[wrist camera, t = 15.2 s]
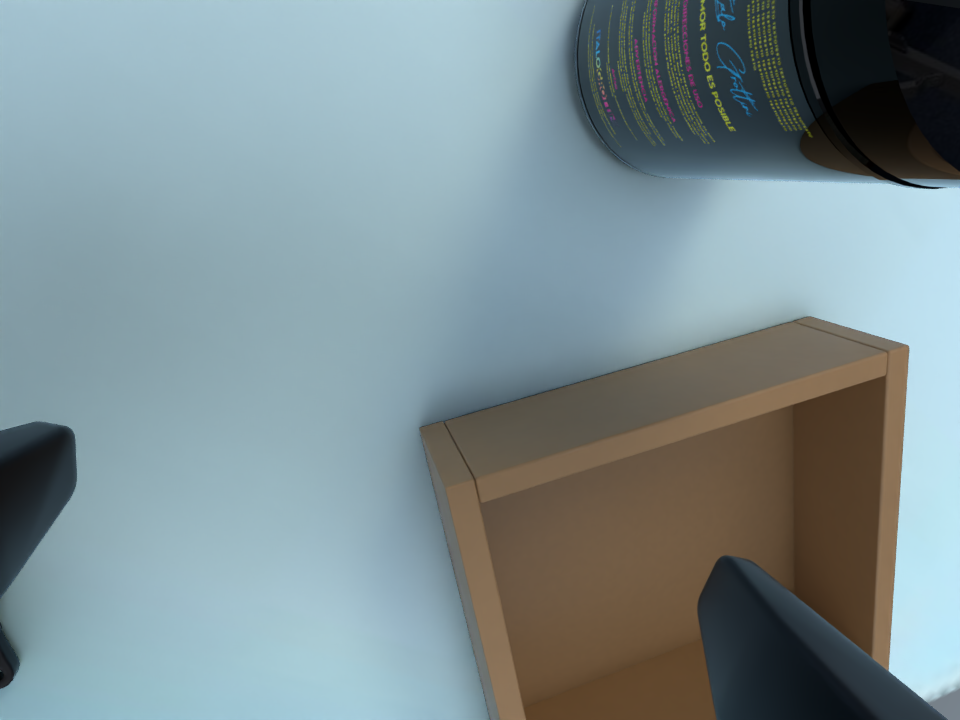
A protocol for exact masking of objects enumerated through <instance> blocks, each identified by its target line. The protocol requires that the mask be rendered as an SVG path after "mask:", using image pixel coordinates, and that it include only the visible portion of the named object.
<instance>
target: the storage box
mask: <svg viewBox="0 0 960 720" xmlns="http://www.w3.org/2000/svg"><path fill="white" fill-rule="evenodd" d="M908 359H909V346H908V345H905V344H902V343H899V342H895V341H892V340H888V339H885V338H882V337H878V336H875V335H871V334H868V333H865V332H861V331H858V330H854V329H851V328H848V327H844V326H841V325H837V324H834V323H831V322H827V321H824V320H820V319H817V318H814V317H806V318H802V319H799V320H795V321H793V322H788V323H785V324H781V325H778V326H774V327H771V328H767V329H764V330H760V331H757V332H754V333H750V334H747V335H743V336H740V337H736V338H733V339H729V340H726V341H722V342H719V343H715V344H712V345H708V346H705V347H701V348H698V349H694V350H691V351H687V352H684V353H680V354H677V355H673V356H670V357H666V358H663V359H659V360H656V361H652V362H649V363H645V364H642V365H638V366H635V367H631V368H628V369H624V370H621V371H617V372H614V373H610V374H607V375H603V376H600V377H596V378H593V379H589V380H586V381H582V382H579V383H575V384H572V385H568V386H565V387H561V388H558V389H554V390H551V391H547V392H544V393H541V394H537V395H534V396H530V397H527V398H523V399H520V400H516V401H513V402H509V403H506V404H502V405H499V406H495V407H492V408H488V409H485V410H481V411H478V412H474V413H471V414H467V415H464V416H460V417H457V418H453V419H450V420H446V421H445V423H444V422H443V421H441V422H437V423H434V424H430V425H427V426H423V427H420V429H419V430H420V434H421V438H422V442H423V446H424V450H425V454H426V459H427V463H428V467H429V471H430V475H431V479H432V483H433V487H434V491H435V495H436V500H437V504H438V508H439V512H440V516H441V520H442V524H443V528H444V532H445V536H446V541H447V545H448V549H449V553H450V557H451V561H452V565H453V569H454V573H455V577H456V582H457V586H458V590H459V594H460V598H461V602H462V606H463V610H464V614H465V618H466V623H467V627H468V631H469V635H470V639H471V643H472V647H473V651H474V655H475V659H476V663H477V668H478V672H479V676H480V680H481V684H482V688H483V692H484V696H485V700H486V704H487V709H488V713H489V717H490V720H717V719H716V714H715V709H714V705H713V699H712V694H711V688H710V682H709V677H708V671H707V665H706V660H705V654H704V648H703V643H702V637H701V631H700V626H699V620H698V613H697V605H698V600H699V596H700V594H701V592H702V590H703V588H704V586H705V583H706V581H707V579H708V577H709V575H710V573H711V571H712V569H713V567H714V565H715V563H716V561H717V560H718V559H719V558H720V557H721V556H724V555H729V556H735V557H740V558H745V559H749V560H751V561H753V562H755V563H756V564H757V565H758V566H760V567H761V568H762V569H763V570H764V571H766V572H767V573H768V574H769V575H771V576H772V577H773V578H774V579H776V580H777V581H778V582H779V583H780V584H782V585H783V586H784V587H785V588H787V589H788V590H789V591H790V592H792V593H793V594H794V595H795V596H796V597H798V598H799V599H800V600H801V601H803V602H804V603H805V604H806V605H808V606H809V607H810V608H811V609H812V610H814V611H815V612H816V613H817V614H819V615H820V616H821V617H822V618H824V619H825V620H826V621H827V622H828V623H830V624H831V625H832V626H833V627H835V628H836V629H837V630H838V631H839V632H841V633H842V634H843V635H844V636H846V637H847V638H848V639H849V640H851V641H852V642H853V643H854V644H855V645H857V646H858V647H859V648H860V649H862V650H863V651H864V652H865V653H867V654H868V655H869V656H870V657H871V658H873V659H874V660H875V661H876V662H878V663H879V664H880V665H881V666H883V667H884V668H885V669H886V670H887V671H888V670H889V655H890V639H891V623H892V608H893V592H894V577H895V561H896V546H897V530H898V515H899V499H900V483H901V468H902V452H903V437H904V421H905V406H906V390H907V375H908Z"/></svg>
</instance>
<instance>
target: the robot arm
mask: <svg viewBox="0 0 960 720" xmlns="http://www.w3.org/2000/svg"><path fill="white" fill-rule="evenodd" d="M76 482H77V466H76V444H75V435H74V433H73V431H72V430H71V429H70V428H69V427H67V426H62V425H57V424H52V423H47V422H32V423H28V424H24V425H21V426H17V427H13V428H10V429H6V430H2V431H0V598H1V597H2V596H3V594H4V593H5V591H6V590H7V589H8V587H9V586H10V585H11V583H12V582H13V581H14V579H15V578H16V576H17V575H18V573H19V572H20V570H21V569H22V568H23V566H24V565H25V563H26V562H27V560H28V559H29V557H30V556H31V555H32V553H33V552H34V550H35V549H36V547H37V546H38V544H39V543H40V541H41V540H42V539H43V537H44V536H45V534H46V533H47V531H48V530H49V528H50V527H51V526H52V524H53V523H54V521H55V520H56V518H57V517H58V515H59V514H60V512H61V511H62V510H63V508H64V507H65V505H66V504H67V502H68V501H69V499H70V498H71V496H72V494H73V492H74V490H75V487H76ZM697 613H698V620H699V626H700V631H701V637H702V643H703V648H704V654H705V660H706V665H707V671H708V677H709V682H710V688H711V694H712V699H713V705H714V709H715V714H716V719H717V720H948V719H947V718H945V717H944V716H943V715H942V714H940V713H939V712H938V711H937V710H935V709H934V708H933V707H932V706H930V705H929V704H928V703H927V702H926V701H924V700H923V699H922V698H921V697H919V696H918V695H917V694H916V693H915V692H913V691H912V690H911V689H910V688H908V687H907V686H906V685H905V684H903V683H902V682H901V681H900V680H899V679H897V678H896V677H895V676H894V675H892V674H891V673H890V672H889V671H887V670H886V669H885V668H884V667H883V666H881V665H880V664H879V663H878V662H876V661H875V660H874V659H873V658H871V657H870V656H869V655H868V654H867V653H865V652H864V651H863V650H862V649H860V648H859V647H858V646H857V645H855V644H854V643H853V642H852V641H851V640H849V639H848V638H847V637H846V636H844V635H843V634H842V633H841V632H839V631H838V630H837V629H836V628H835V627H833V626H832V625H831V624H830V623H828V622H827V621H826V620H825V619H824V618H822V617H821V616H820V615H819V614H817V613H816V612H815V611H814V610H812V609H811V608H810V607H809V606H808V605H806V604H805V603H804V602H803V601H801V600H800V599H799V598H798V597H796V596H795V595H794V594H793V593H792V592H790V591H789V590H788V589H787V588H785V587H784V586H783V585H782V584H780V583H779V582H778V581H777V580H776V579H774V578H773V577H772V576H771V575H769V574H768V573H767V572H766V571H764V570H763V569H762V568H761V567H760V566H758V565H757V564H756V563H755V562H753V561H751V560H749V559H745V558H740V557H735V556H729V555H724V556H721V557H720V558H719V559H718V560H717V561H716V563H715V565H714V567H713V569H712V571H711V573H710V575H709V577H708V579H707V581H706V583H705V586H704V588H703V590H702V592H701V594H700V596H699V600H698V605H697ZM1 629H2V625H1V623H0V670H1V671H2V672H0V689H1V688H3V687H5V686H7V685H9V684H10V682H11V681H12V680H13V679H14V677H15V675H16V673H17V672H18V670H19V666H20V662H19V659H18V657H17V656H16V654H15V652H14V650H13V649H12V647H11V645H10V644H9V642H8V640H7V638H6V637H5V635H4V633H3V632H2V630H1Z"/></svg>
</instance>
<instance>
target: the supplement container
mask: <svg viewBox="0 0 960 720" xmlns="http://www.w3.org/2000/svg"><path fill="white" fill-rule="evenodd" d="M575 75H576V83H577V88H578V93H579V97H580V100H581V103H582V107H583V109H584V112H585V114H586V117H587V119H588V121H589V123H590V124H591V126H592V128H593V130H594V131H595V133H596V134H597V136H598V137H599V139H600V140H601V141H602V142H603V144H604V145H605V146H606V147H607V148H608V149H609V150H610V151H611V152H612V153H613V154H614V155H615V156H616V157H617V158H618V159H620V160H621V161H622V162H624V163H625V164H627V165H628V166H630V167H632V168H633V169H636V170H638V171H640V172H642V173H645V174H649V175H652V176H657V177H662V178H689V179H725V180H762V181H798V182H834V183H870V184H892V185H896V186H901V187H907V188H920V189H939V188H960V0H585V3H584V6H583V9H582V12H581V16H580V20H579V24H578V29H577V35H576V42H575Z"/></svg>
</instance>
